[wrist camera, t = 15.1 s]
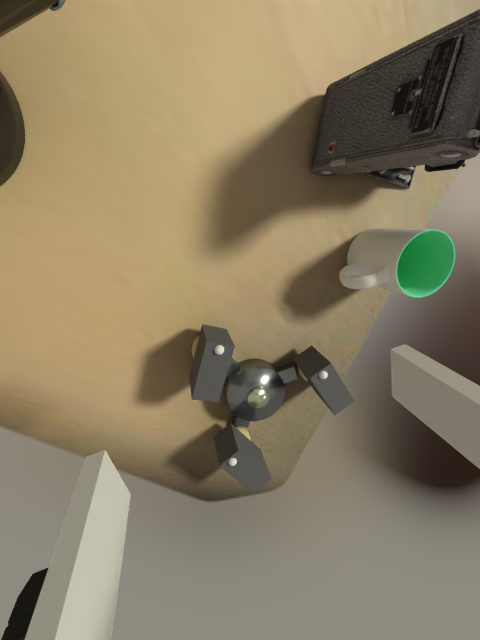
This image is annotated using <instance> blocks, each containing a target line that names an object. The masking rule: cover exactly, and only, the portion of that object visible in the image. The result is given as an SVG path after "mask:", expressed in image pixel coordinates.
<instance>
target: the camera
mask: <svg viewBox="0 0 480 640" xmlns="http://www.w3.org/2000/svg"><path fill="white" fill-rule="evenodd" d="M479 153H480V9H479V10H477V11H475V12H473V13H471V14H469V15H467V16H465V17H463V18H461V19H459V20H457V21H455V22H453V23H451V24H449V25H447V26H445V27H443V28H441V29H439V30H437V31H435V32H433V33H431V34H429V35H427V36H425V37H423V38H421V39H419V40H417V41H415V42H413V43H411V44H409V45H407V46H405V47H403V48H401V49H399V50H397V51H395V52H393V53H391V54H389V55H387V56H385V57H383V58H381V59H379V60H377V61H375V62H373V63H371V64H369V65H367V66H366V67H364V68H362V69H360V70H358V71H356V72H354V73H352V74H350V75H348V76H346V77H344V78H342V79H340V80H338V81H336V82H334V83H332V84H330V85H329V86H328V88H327V90H326V96H325V101H324V106H323V111H322V117H321V122H320V127H319V132H318V138H317V143H316V148H315V153H314V159H313V164H312V172H314V173H316V174H319V175H325V176H337V175H345V174H353V173H362V174H365V175H368V176H371V177H374V178H377V179H380V180H383V181H386V182H389V183H392V184H395V185H398V186H401V187H404V188H407V189H409V188H410V184H411V181H412V178H413V174H414V171H415V167H416V166H418V165H425V170H426V171H427V172H432V171H441V170H450V169H458V168H459V167H460V166H462V167H465V166H466V163H465V160H466V159H469V158H472V157H476V156H477V155H478V154H479Z"/></svg>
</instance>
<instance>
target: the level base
mask: <svg viewBox="0 0 480 640" xmlns="http://www.w3.org/2000/svg"><path fill="white" fill-rule="evenodd" d="M296 379H297V375H296V370H295V366H294V365H293V364H292V363H291V364H288V365H285V366H282V367H279V368H277V369H275V368H274V367H273V366H272V365H271V364H270V363H269V362H267V361H265V360H262V359H248V360H244V361H242V362H240V363H237V362H236V361H235V360H234V359H233V358H231V361H230V364H229V368H228V371H227V375H226V379H225V382H224V391H225V395H226V398H227V401H228V405H229V407H230V410H231V411H232V412H233V414H234V415H235V416H234V419H233V423H234V426H243V427H248V426H249V422H250V421H258V420H262V419H265V418H267V417H269V416H271V415H272V414H274V413H275V412H276V411H277V410H278V409H279V408H280V406H281V405H282V403H283V401H284V398H285V385H284V384H285V383H288V382H290V381H293V380H296Z"/></svg>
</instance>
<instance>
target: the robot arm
mask: <svg viewBox="0 0 480 640" xmlns="http://www.w3.org/2000/svg"><path fill="white" fill-rule="evenodd" d="M65 1H66V0H0V37H1V36H3V35H5V34H7V33H8V32H10V31H12V30H13V29H15V28H17V27H18V26H20V25H22V24H23V23H25V22H27V21H29V20H30V19H32V18H34V17H35V16H37V15H39V14H40V13H42V12H44V11H46V10H47V9H49V8H50V9H51V10H52V11H56V10H59V9H60V8H61V7H62V6H63V4H64V3H65ZM24 144H25V128H24V121H23V116H22V113H21V109H20V106H19V103H18V101H17V99H16V96H15V94H14V92H13V90H12V88H11V87H10V85H9V83H8V82H7V80H6V78H5V77H4V76H3V74H2V73H1V71H0V185H2V184H3V183H4V182H6V181H7V180H8V179H9V178H10V177H11V176H12V174H13V173H14V172H15V170H16V169H17V167H18V165H19V163H20V160H21V158H22V154H23V150H24ZM391 373H392V397H394V398H395V399H396V400H397V401H398V402H400V403H401V404H402V405H403V406H404V407H406V408H407V409H408V410H409V411H410V412H412V413H413V414H414V415H415V416H417V417H418V418H419V419H420V420H421V421H423V422H424V423H425V424H426V425H427V426H428V427H430V428H431V429H432V430H433V431H435V432H436V433H437V434H438V435H439V436H441V437H442V438H443V439H444V440H445V441H447V442H448V443H449V444H450V445H451V446H453V447H454V448H455V449H456V450H458V451H459V452H460V453H461V454H462V455H463V456H465V457H466V458H467V459H468V460H470V461H471V462H472V463H473V464H474V465H476V466H477V467H478V468H479V469H480V386H479V385H477V384H475V383H473V382H471V381H470V380H468V379H466V378H464V377H462V376H461V375H459V374H457V373H456V372H454V371H452V370H450V369H448V368H447V367H445V366H443V365H441V364H440V363H437V362H436V361H434V360H432V359H431V358H429V357H427V356H425V355H423V354H422V353H420V352H418V351H416V350H414V349H413V348H411V347H409V346H407V345H406V344H405V345H402V346H399V347H396V348H393V349H391ZM130 496H131V494H130V493H129V491H128V489H127V487H126V486H125V484H124V482H123V480H122V479H121V477H120V475H119V473H118V472H117V470H116V468H115V466H114V465H113V463H112V461H111V460H110V458H109V456H108V454H107V453H106V451H105V450H104V451H101V452H98V453H95V454H93V455H90V456H87V457H86V458H85V461H84V464H83V467H82V470H81V473H80V476H79V479H78V482H77V485H76V488H75V491H74V494H73V497H72V500H71V503H70V506H69V509H68V512H67V515H66V518H65V521H64V524H63V527H62V530H61V533H60V536H59V539H58V542H57V545H56V548H55V551H54V553H53V556H52V560H51V563H50V565H49V568H46V569H44V570H41V571H39V572H36V573H34V574H33V575H32V576H31V578H30V579H29V581H28V582H27V584H26V585H25V587H24V589H23V590H22V592H21V593H20V595H19V596H18V598H17V601H16V603H15V606H14V608H13V611H12V614H11V616H10V619H9V621H8V624H9V625H8V627H6V629H5V631H4V634H3V637H2V639H1V640H111V639H112V632H113V625H114V617H115V610H116V602H117V593H118V587H119V579H120V572H121V563H122V557H123V549H124V541H125V533H126V527H127V519H128V512H129V504H130Z"/></svg>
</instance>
